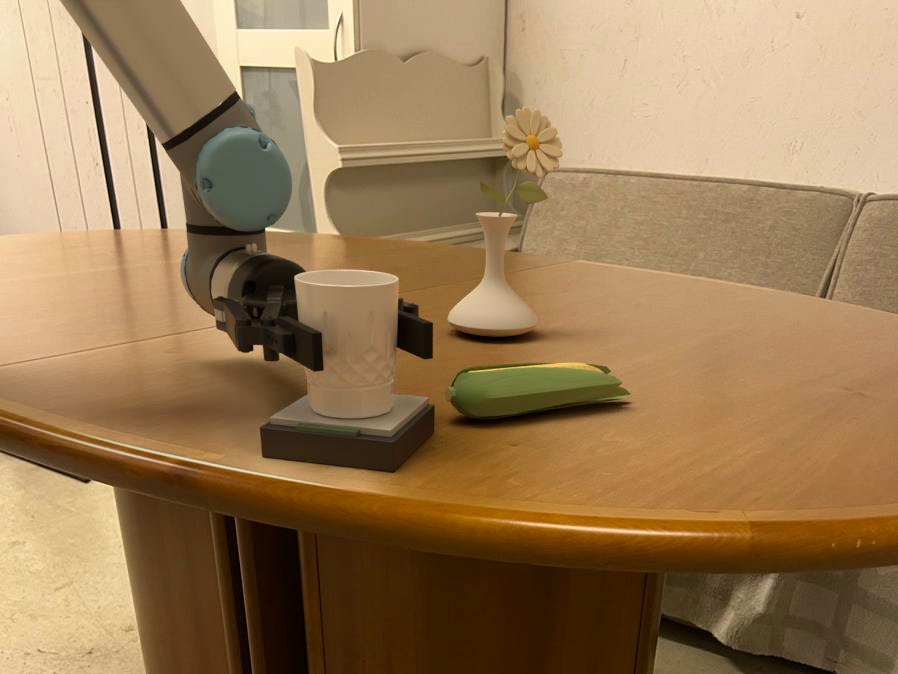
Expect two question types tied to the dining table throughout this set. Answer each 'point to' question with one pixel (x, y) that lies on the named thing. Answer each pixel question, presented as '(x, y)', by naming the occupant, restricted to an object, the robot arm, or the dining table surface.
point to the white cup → (351, 340)
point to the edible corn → (530, 388)
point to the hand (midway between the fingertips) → (374, 346)
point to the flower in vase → (493, 299)
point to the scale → (349, 435)
